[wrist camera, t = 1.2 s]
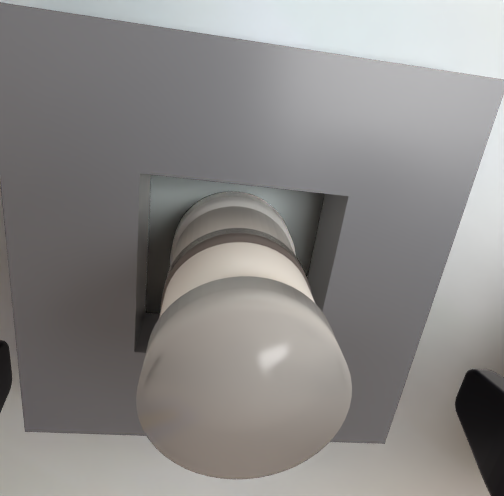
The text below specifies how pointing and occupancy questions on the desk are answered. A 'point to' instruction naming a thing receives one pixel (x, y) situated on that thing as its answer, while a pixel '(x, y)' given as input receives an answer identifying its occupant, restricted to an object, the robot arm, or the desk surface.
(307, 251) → the desk surface
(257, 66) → the frame
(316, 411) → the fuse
